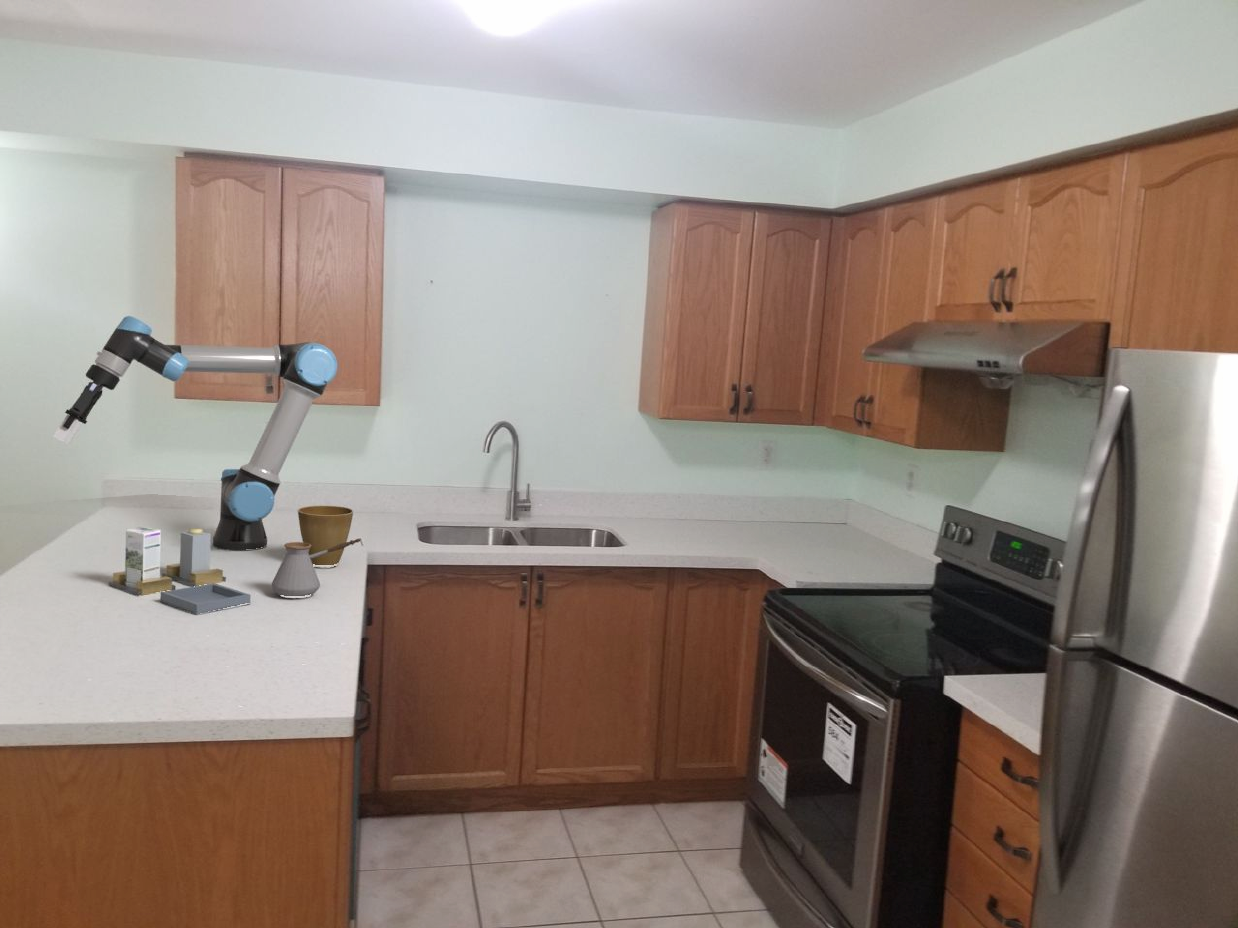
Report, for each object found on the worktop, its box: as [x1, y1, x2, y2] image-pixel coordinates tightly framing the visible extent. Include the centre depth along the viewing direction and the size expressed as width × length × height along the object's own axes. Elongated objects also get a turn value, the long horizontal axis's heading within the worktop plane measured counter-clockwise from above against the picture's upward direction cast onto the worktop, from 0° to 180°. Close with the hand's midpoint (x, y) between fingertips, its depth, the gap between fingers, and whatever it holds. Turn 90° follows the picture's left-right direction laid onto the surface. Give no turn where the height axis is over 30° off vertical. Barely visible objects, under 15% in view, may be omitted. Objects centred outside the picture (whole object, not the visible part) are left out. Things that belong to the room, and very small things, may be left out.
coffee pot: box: [271, 537, 364, 596], centre depth 246 cm, size 21×12×15 cm, turn 103°
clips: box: [162, 562, 227, 587], centre depth 253 cm, size 10×12×3 cm
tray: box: [159, 583, 251, 615], centre depth 232 cm, size 14×14×2 cm
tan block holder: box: [108, 571, 177, 597], centre depth 241 cm, size 10×12×3 cm
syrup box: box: [124, 526, 162, 589], centre depth 240 cm, size 6×6×14 cm
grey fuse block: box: [179, 527, 212, 580], centre depth 252 cm, size 5×5×13 cm
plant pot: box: [297, 505, 354, 565], centre depth 278 cm, size 15×15×16 cm
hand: (60, 440), depth 254 cm, fingers open, 13 cm apart
